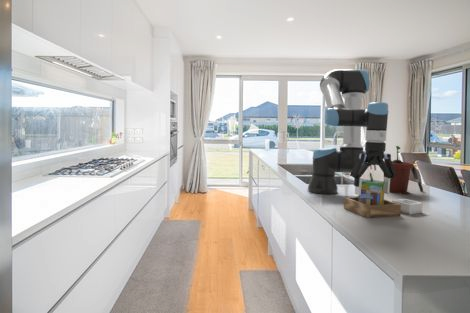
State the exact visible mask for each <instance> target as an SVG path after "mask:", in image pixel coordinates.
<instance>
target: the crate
mask: <svg viewBox="0 0 470 313" xmlns="http://www.w3.org/2000/svg"><path fill="white" fill-rule="evenodd" d="M343 199H344V200H343V209H346V210H347V211H350V212H353V213H355V214H357V215H360V216H362V217H365V218H367V219H369V218H373V219H374V218H387V217H388V218H389V217H400V216H401V212H400V211H401V204H398V203H395V202H392V200H388V199H385V198H384V205H366V204H364V203H361V202H358V200H359V196H352V197H351V196H350V197H349V196H348V197H343Z"/></svg>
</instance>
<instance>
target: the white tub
mask: <svg viewBox="0 0 470 313" xmlns="http://www.w3.org/2000/svg"><path fill="white" fill-rule="evenodd" d="M391 202H395V203H398V204H401V211H400V213H403V214H405V215H413V214H422V213H423V202H421V201H420V202H419V201H416V200H412V199H407V198H401V199H400V198H399V199H393V200H391Z"/></svg>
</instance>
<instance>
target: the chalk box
mask: <svg viewBox="0 0 470 313" xmlns="http://www.w3.org/2000/svg"><path fill="white" fill-rule="evenodd" d="M369 178H370V179H364V178H363V179H362V178H361V179H362V185H361V195H358V197H359V200H358V202H361V203H364V204H366V205H384V199H385V193H384V191H385V181H384V180H377V179H376V180H375V179H373V175H372V172H369Z"/></svg>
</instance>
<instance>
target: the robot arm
mask: <svg viewBox="0 0 470 313" xmlns="http://www.w3.org/2000/svg"><path fill="white" fill-rule="evenodd" d="M370 80H371V79H370V75H369V73H368V71H367V70H365V69H358V68H356V69H355V68H353V69H349V68H348V69H345V68H344V69H342V68H339V69H337V68H336V69H333V70H330V71H328V72H327V73H325V74H324V75H323V76H322V78H321V80H320V83H319V89H320V92H321V93H322V94H323V97H324V101H325V103H326V107H327V108H326V109H325V111H324V124H325V125H326V126H329V127H331V126H332V127H343V133H342V134H343V135H342V136H343V137H342V145H341V144H340V145H341V146H339V149H337V147H336V146H335V147H334V146H333V147H319V148H316V149H314V150H313V152H312V153H313V154H312V168H311V171H312V172H311V173H312V174H311V178H310V181H309V183H308V186H307V191H308V192H311V193H314V194H321V195H322V194H323V195H334V194H337V193H338V190H339V189H338V185H337V182H336V177H335V175H336V173H344V174H349V176H350V177H352V178H353V179H354V183H353V186H354V194H355V195H357V196H359V195H361V185H362V178H361V177H362V176H363V175H364V173H365V172H366V171H367V170H368V168H369V167H370V166H378V167H379V168H380V170H381V171H382V173H383V181H385V191H384V195H385V194H386V195H389V194H390V192H389V188H390V185H391V178H394V176H396V173H395V170H394V167H393V164H392V161H393V160H392V155H391V153H385V152H386V149H387V148H386V146H387V143H386V141H387V132H388V131H387V129H388V119H389V104H388V103H387V102H385V101H383V102H382V101H379V102H377V101H376V102H374V101H373V102H369V103H367V108H362V106H363V101H362V100H363V98H364V97H365V96H366V93H368V92H369V90H370V85H371V84H370ZM343 99H344V100H343ZM362 127H363V128H365V129H366V131H365V138H364V139H365V144H364V146H363V145H361V140H362V139H361V137H362V136H361V135H362V133H361V132H362ZM384 161H385V162H384ZM385 164H386V165H385ZM386 166H387V167H386ZM384 175H385V176H386V177H384Z"/></svg>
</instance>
